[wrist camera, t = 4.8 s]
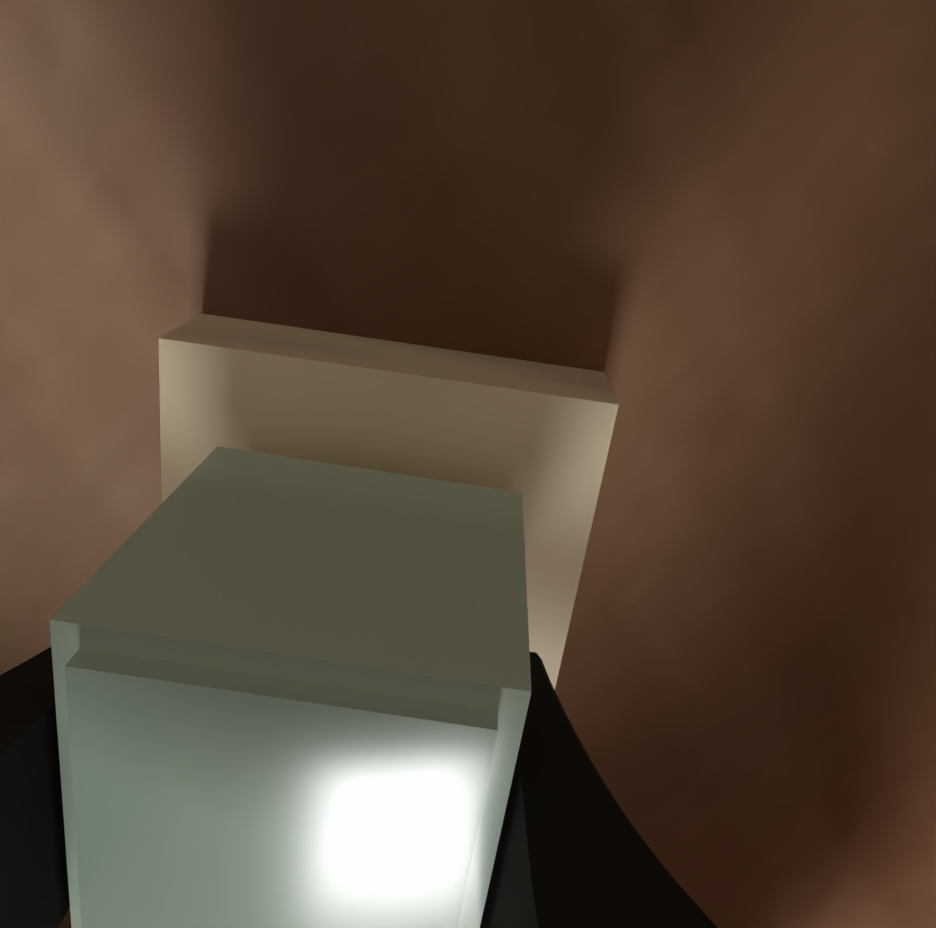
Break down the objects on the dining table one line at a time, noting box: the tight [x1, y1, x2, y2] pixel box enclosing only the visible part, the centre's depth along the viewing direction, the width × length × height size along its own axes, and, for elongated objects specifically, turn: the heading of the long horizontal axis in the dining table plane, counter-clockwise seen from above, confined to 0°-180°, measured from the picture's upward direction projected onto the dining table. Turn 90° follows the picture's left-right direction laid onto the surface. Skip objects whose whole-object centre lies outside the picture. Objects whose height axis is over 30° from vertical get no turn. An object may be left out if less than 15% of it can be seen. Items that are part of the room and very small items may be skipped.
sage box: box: [49, 446, 531, 928], centre depth 11 cm, size 5×5×5 cm
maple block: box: [159, 314, 619, 690], centre depth 16 cm, size 8×8×2 cm
